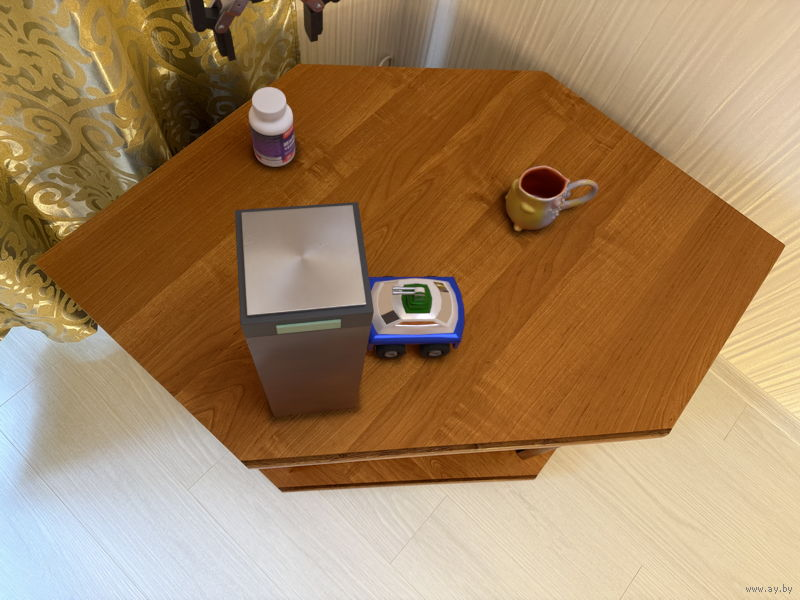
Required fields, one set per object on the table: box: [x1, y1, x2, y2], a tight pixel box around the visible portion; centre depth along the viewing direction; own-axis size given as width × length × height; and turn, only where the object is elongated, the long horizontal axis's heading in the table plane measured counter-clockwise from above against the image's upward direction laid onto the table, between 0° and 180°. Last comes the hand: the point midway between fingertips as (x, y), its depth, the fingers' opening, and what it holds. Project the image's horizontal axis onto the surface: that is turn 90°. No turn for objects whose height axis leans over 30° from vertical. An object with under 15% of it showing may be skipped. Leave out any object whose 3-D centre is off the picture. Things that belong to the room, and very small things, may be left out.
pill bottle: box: [248, 86, 296, 168], centre depth 75 cm, size 5×5×10 cm
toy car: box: [367, 275, 466, 359], centre depth 67 cm, size 9×12×10 cm
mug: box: [504, 165, 600, 232], centre depth 77 cm, size 12×7×7 cm, turn 97°
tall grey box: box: [234, 201, 374, 418], centre depth 55 cm, size 9×9×28 cm
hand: (270, 45), depth 60 cm, fingers open, 8 cm apart
